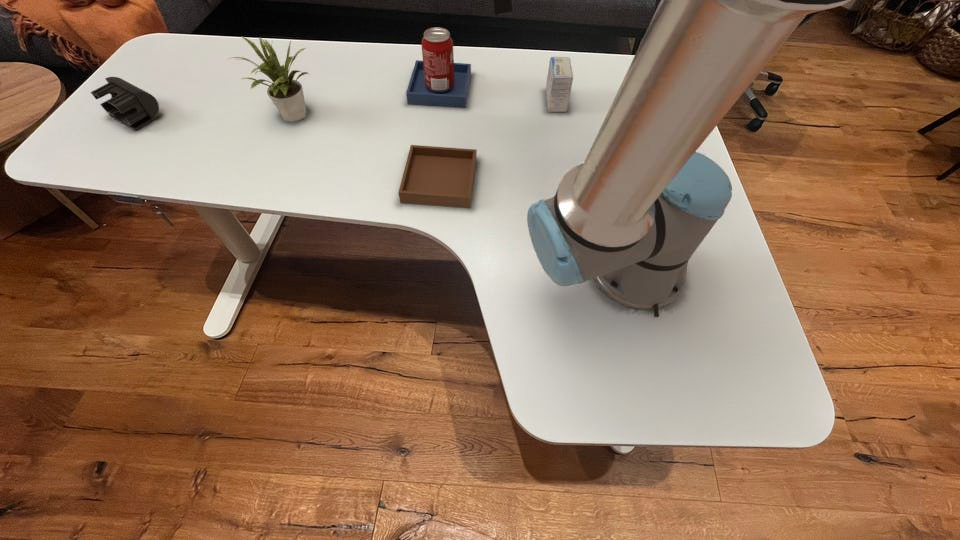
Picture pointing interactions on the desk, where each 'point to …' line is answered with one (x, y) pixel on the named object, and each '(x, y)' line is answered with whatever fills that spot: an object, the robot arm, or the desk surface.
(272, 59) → the house plant
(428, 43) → the soda can
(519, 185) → the desk surface
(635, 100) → the robot arm
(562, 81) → the medicine box
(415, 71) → the blue tray
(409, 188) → the walnut tray
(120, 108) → the end cap
